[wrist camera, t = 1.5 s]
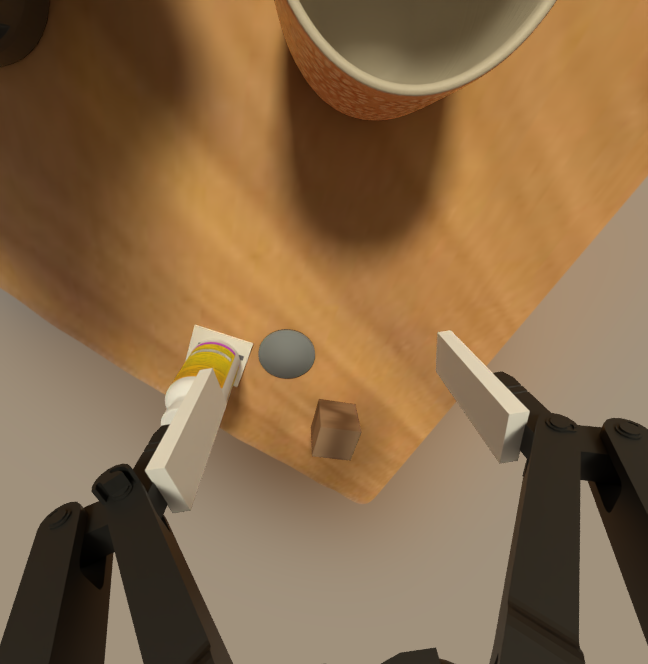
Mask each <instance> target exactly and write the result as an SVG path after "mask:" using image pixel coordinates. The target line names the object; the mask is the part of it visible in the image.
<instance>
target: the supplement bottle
mask: <svg viewBox="0 0 648 664" xmlns="http://www.w3.org/2000/svg"><path fill="white" fill-rule="evenodd" d="M239 366H240V358H239V355H238V353H237V351H236V350H235V349H234V348H233V347H232V346H231V345H229V344H228V343H226V342H224V341H220V340H207V341H203V342H201V343H200V344H198V345H197V346H196V347H195V348H194V349H193V351H192V352H191V354H190V356H189V357H188V359H187V360H186V362H185V363H184V365H183V366H182V368H181V370H180V371H179V373H178V374H177V376H176V378H175V379H174V381H173V382H172V384H171V385H170V387H169V388H168V390H167V392H166V395H165V405H166V408H167V410H166V411H165V413H164V415H163V417H162V419H161V426H162V425H167V424H171V422H172V420H173V418H174V416H175V414H176V413H177V411H178V409H179V407H180V405H181V403H182V402H183V400H184V398H185V396H186V394H187V393H188V391H189V389H190V387H191V385H192V383H193V382H194V380H195V378H196V376H197V374H198V372H199V371H200V370H203V369H210V368H213V370H214V373H215V375H216V378H217V380H218V383H219V385H220V388H221V390H222V393H223V395H224V398H225V400H226V403H227V402H228V399H229V396H230V393H231V390H232V387H233V385H234V382H235V379H236V376H237V373H238V370H239Z"/></svg>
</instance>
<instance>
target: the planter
mask: <svg viewBox="0 0 648 664" xmlns="http://www.w3.org/2000/svg"><path fill="white" fill-rule="evenodd" d="M274 1H275V5H276V9H277V13H278V17H279V21H280V24H281V27H282V31H283V34H284V37H285V40H286V43H287V45H288V48H289V50H290V52H291V55H292V57H293V59H294V61H295V63H296V65H297V66H298V68H299V70H300V72H301V73H302V75H303V77H304V78H305V80H306V81H307V83H308V84H309V85H310V86H311V88H312V89H313V90H314V91H315V92H316V93H317V95H318V96H319V97H320V98H322V99H323V100H324V101H325V102H326V103H327V104H329V105H330V106H331V107H333V108H334V109H336V110H338V111H339V112H341V113H343V114H346V115H348V116H351V117H354V118H358V119H363V120H388V119H394V118H398V117H401V116H404V115H407V114H410V113H413V112H415V111H417V110H420V109H422V108H424V107H426V106H428V105H430V104H432V103H434V102H436V101H438V100H440V99H442V98H444V97H446V96H448V95H450V94H452V93H454V92H456V91H458V90H460V89H462V88H463V87H465V86H467V85H469V84H470V83H472V82H474V81H476V80H477V79H479V78H480V77H482V76H483V75H485V74H487V73H488V72H489V71H491V70H492V69H494V68H495V67H496V66H498V65H499V64H500V63H502V62H503V61H504V60H505V59H506V58H507V57H509V56H510V55H511V54H512V53H513V52H514V51H515V50H516V49H517V48H518V47H519V46H520V45H521V44H522V43H523V42H524V41H525V40H526V39H527V38H528V37H529V36H530V35H531V34H532V33H533V31H534V30H535V29H536V28H537V27H538V25H539V24H540V23H541V22H542V20H543V19H544V18H545V16H546V15H547V14H548V12H549V11H550V10H551V8H552V7H553V5H554V4H555V2H556V1H557V0H274Z"/></svg>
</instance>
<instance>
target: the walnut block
mask: <svg viewBox="0 0 648 664" xmlns="http://www.w3.org/2000/svg"><path fill="white" fill-rule="evenodd" d="M360 435H361V427H360V423H359V419H358V414H357V410H356V406H355V404H350V403H343V402H336V401H329V400H322V399H319V401H318V404H317V408H316V411H315V415H314V418H313V422H312V425H311V440H312V456H314V457H323V458H332V459H341V460H351V458H352V455H353V453H354V450H355V448H356V445H357V442H358V440H359V437H360Z"/></svg>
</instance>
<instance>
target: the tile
mask: <svg viewBox="0 0 648 664" xmlns="http://www.w3.org/2000/svg"><path fill="white" fill-rule="evenodd" d="M207 340H220V341H224V342H226V343H228V344H229V345H231V346H232V347H233V348H234V349H235V350H236V351H237V353H238V355H239V358H240V366H239V370H238V373H237V376H236V379H235V382H234V385H233V386H235V387H238V384H239V381H240V379H241V376H242V373H243V370H244V368H245V365H246V362H247V359H248V357H249V354H250V351H251V348H252V346H253V343H251V342H248V341H245V340H242V339H239V338H236V337H232V336H229V335H226V334H223V333H220V332H217V331H214V330H211V329H208V328H205V327H202V326H198V325H195V326H194V330H193V334H192V337H191V341H190V345H189V349H188V353H187V357H186V360H187V359H188V357H189V356H190V354H191V352H192V351H193V349H194V348H195V347H196V346H197V345H198V344H200V343H201V342H203V341H207ZM185 362H186V361H185Z"/></svg>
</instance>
